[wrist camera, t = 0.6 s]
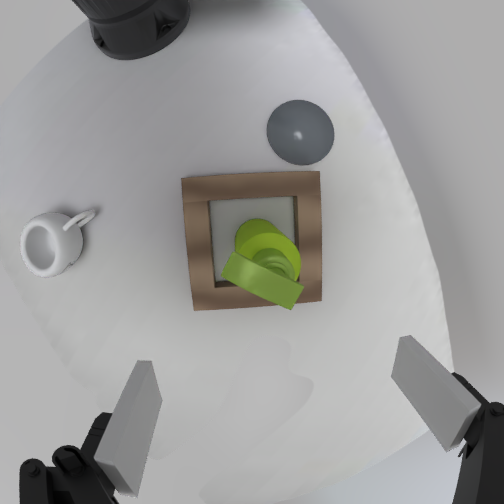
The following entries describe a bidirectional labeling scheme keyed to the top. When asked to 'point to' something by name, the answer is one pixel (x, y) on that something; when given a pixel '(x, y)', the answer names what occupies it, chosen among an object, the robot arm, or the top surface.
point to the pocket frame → (250, 186)
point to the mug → (52, 242)
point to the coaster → (300, 132)
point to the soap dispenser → (265, 263)
